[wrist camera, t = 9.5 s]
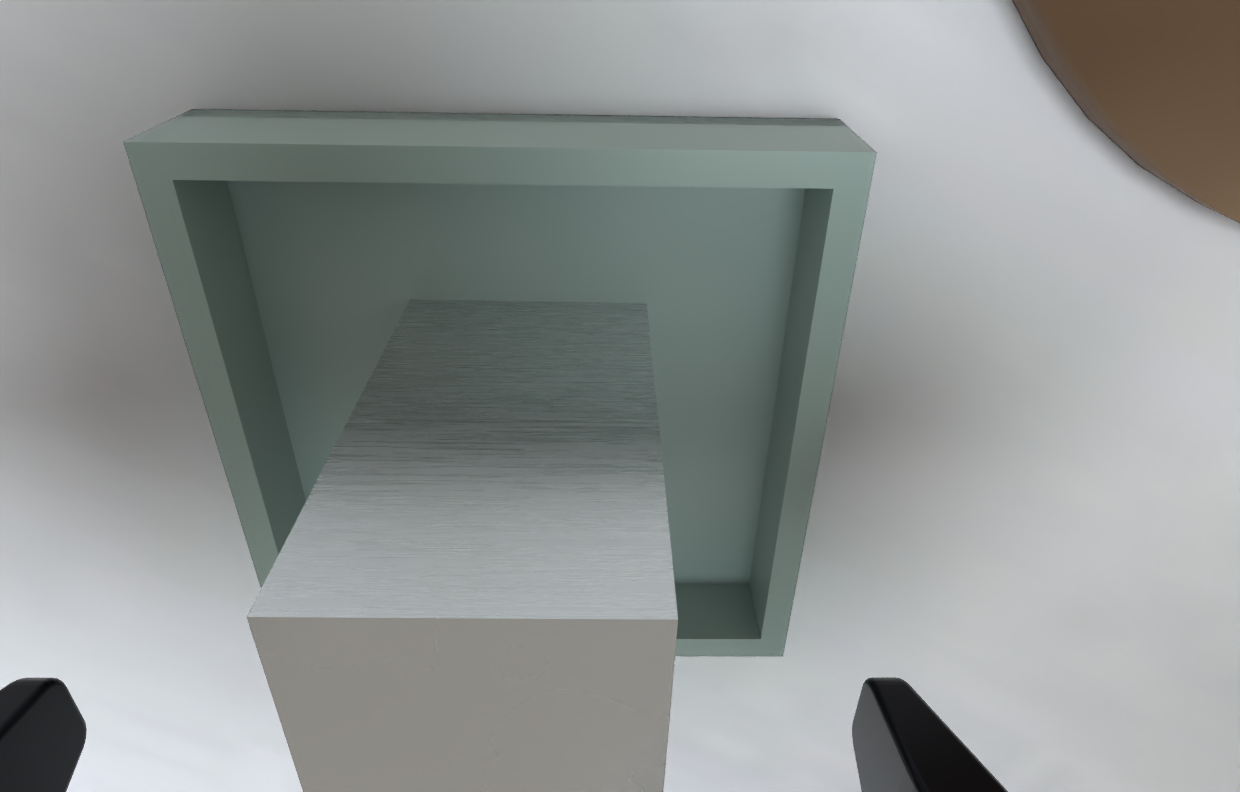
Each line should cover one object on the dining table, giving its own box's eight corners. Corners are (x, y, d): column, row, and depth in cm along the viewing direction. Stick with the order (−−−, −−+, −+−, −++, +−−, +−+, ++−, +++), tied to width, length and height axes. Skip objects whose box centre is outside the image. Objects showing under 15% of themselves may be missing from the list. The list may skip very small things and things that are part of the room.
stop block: (638, 489, 15) (658, 852, 9) (434, 486, 15) (323, 852, 9) (647, 302, 13) (677, 620, 7) (409, 299, 13) (247, 616, 7)
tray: (765, 583, 17) (782, 656, 16) (313, 581, 17) (282, 655, 16) (839, 119, 12) (876, 151, 11) (192, 109, 12) (123, 141, 10)
